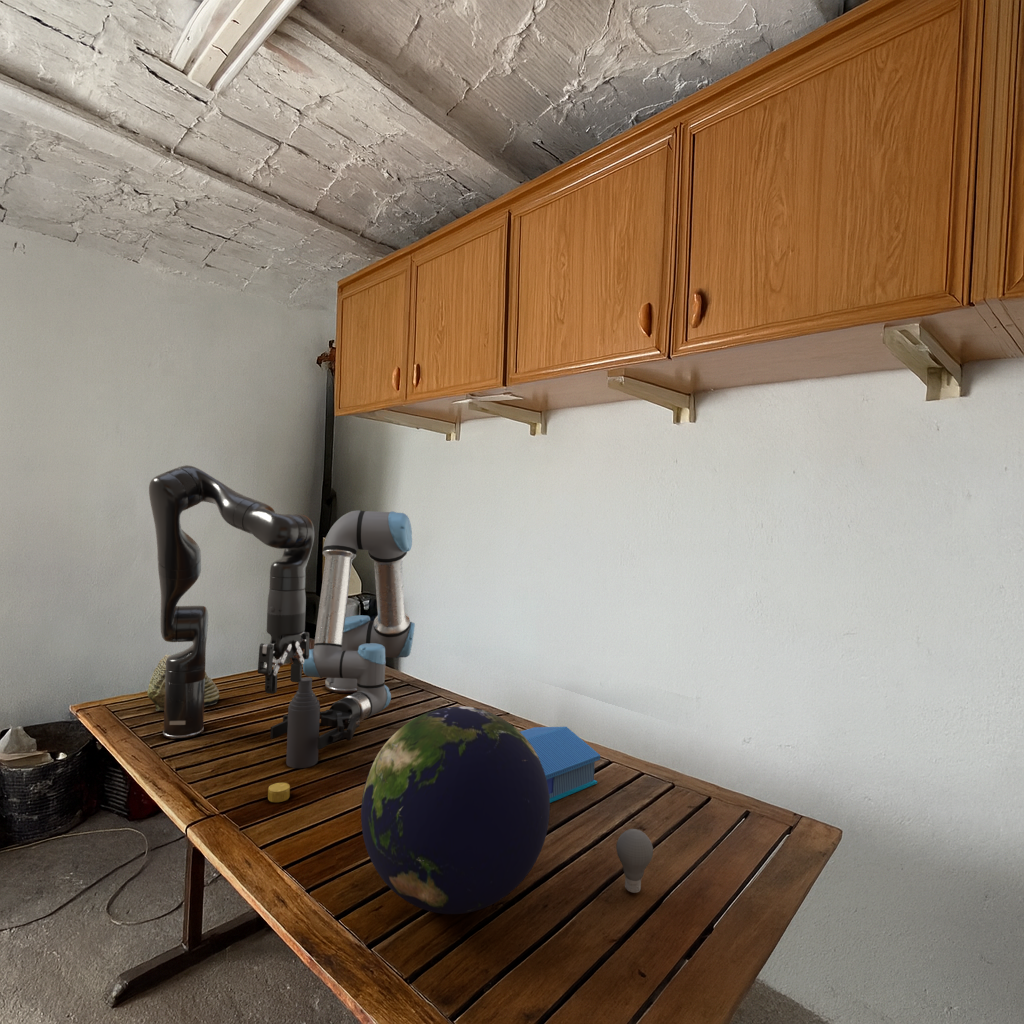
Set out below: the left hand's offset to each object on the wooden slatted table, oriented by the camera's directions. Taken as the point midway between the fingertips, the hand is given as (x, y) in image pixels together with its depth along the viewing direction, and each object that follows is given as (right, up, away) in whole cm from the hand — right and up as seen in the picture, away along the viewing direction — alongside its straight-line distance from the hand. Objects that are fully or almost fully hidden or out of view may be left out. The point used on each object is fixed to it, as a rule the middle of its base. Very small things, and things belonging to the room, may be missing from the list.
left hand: (283, 687), depth 132 cm
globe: (+38, -26, -30) cm, 55 cm away
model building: (+47, -25, +7) cm, 54 cm away
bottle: (-2, -23, +18) cm, 30 cm away
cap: (-1, -21, 0) cm, 21 cm away
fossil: (-48, -20, +53) cm, 74 cm away
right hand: (-3, -16, +16) cm, 23 cm away
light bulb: (+68, -27, -26) cm, 78 cm away
